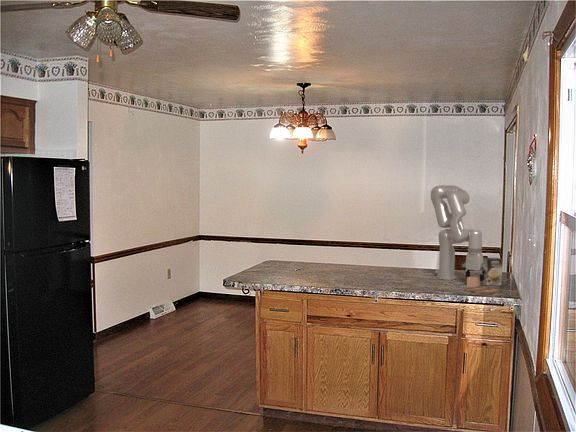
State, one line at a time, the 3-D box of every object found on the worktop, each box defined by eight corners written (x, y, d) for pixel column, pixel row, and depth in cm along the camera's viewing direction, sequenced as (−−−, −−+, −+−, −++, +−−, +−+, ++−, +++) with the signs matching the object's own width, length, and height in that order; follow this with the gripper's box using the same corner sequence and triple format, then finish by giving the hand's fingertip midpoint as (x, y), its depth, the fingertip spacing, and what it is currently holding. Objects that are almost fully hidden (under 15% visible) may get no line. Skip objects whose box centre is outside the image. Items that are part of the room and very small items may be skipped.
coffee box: (486, 285, 335) (487, 259, 334) (482, 283, 342) (483, 257, 340) (501, 285, 336) (502, 259, 334) (497, 283, 342) (498, 257, 341)
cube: (466, 286, 334) (467, 277, 333) (472, 285, 337) (472, 276, 337) (474, 287, 329) (474, 278, 329) (480, 286, 333) (480, 277, 332)
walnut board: (464, 290, 321) (464, 288, 320) (479, 287, 329) (479, 285, 328) (485, 295, 309) (485, 293, 309) (500, 292, 317) (500, 290, 317)
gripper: (459, 250, 336) (458, 278, 337) (483, 253, 322) (483, 282, 323) (466, 249, 340) (466, 277, 341) (491, 252, 326) (491, 280, 327)
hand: (474, 279), depth 332 cm, fingers open, 9 cm apart
